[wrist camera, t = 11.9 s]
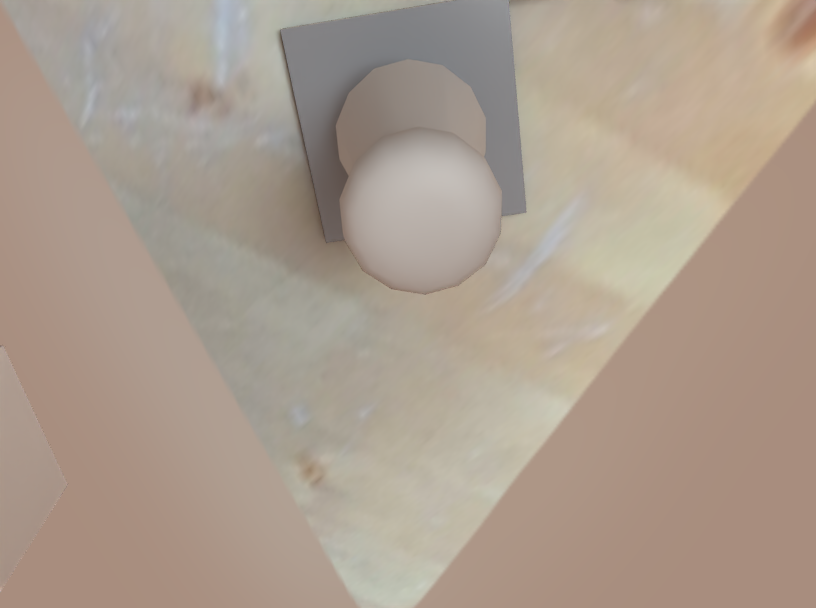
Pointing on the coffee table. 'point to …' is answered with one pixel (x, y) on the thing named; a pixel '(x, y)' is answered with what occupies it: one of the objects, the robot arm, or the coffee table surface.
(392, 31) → the coaster
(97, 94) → the coffee table surface
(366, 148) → the salt shaker
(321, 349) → the coffee table surface
